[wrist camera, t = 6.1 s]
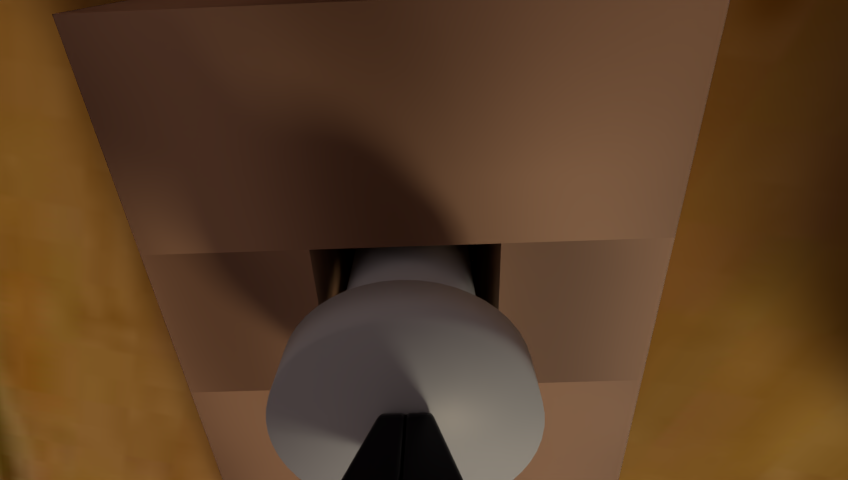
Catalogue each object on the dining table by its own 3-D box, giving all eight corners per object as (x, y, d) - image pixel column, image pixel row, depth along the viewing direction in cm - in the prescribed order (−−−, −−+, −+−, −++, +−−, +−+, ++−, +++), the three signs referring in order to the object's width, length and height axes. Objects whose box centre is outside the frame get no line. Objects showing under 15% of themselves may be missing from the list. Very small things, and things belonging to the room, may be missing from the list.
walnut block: (619, -30, 12) (733, -16, 7) (545, 532, 23) (573, 671, 18) (187, -12, 12) (52, 14, 8) (319, 537, 23) (294, 676, 19)
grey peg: (503, 165, 12) (557, 316, 7) (497, 317, 14) (534, 511, 9) (312, 172, 12) (238, 325, 7) (336, 322, 14) (291, 516, 9)
